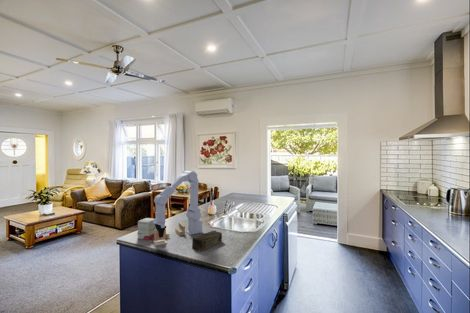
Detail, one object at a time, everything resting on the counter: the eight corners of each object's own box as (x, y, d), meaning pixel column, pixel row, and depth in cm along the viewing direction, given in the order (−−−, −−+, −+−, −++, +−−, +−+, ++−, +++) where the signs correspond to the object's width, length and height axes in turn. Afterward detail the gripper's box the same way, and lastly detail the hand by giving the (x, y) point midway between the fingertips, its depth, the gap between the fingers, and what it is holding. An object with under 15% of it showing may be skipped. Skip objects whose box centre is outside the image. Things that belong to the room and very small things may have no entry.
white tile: (164, 239, 145) (164, 238, 145) (167, 243, 139) (167, 242, 139) (153, 241, 141) (153, 240, 141) (155, 245, 135) (155, 244, 135)
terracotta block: (163, 237, 143) (163, 229, 143) (165, 239, 140) (165, 231, 140) (154, 238, 140) (154, 230, 140) (155, 241, 137) (155, 232, 136)
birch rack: (180, 230, 162) (180, 222, 162) (184, 235, 153) (184, 226, 153) (160, 233, 155) (160, 225, 155) (163, 238, 146) (164, 229, 146)
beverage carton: (222, 242, 143) (222, 231, 143) (200, 252, 127) (201, 241, 127) (213, 239, 147) (213, 229, 147) (191, 248, 132) (191, 237, 132)
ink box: (156, 235, 151) (156, 218, 151) (148, 240, 143) (148, 222, 143) (145, 234, 154) (145, 217, 153) (137, 238, 145) (137, 220, 145)
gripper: (151, 212, 144) (151, 233, 144) (156, 218, 131) (156, 241, 132) (162, 211, 148) (162, 231, 148) (168, 216, 135) (168, 239, 135)
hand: (160, 236), depth 140 cm, fingers closed on terracotta block, 4 cm apart
